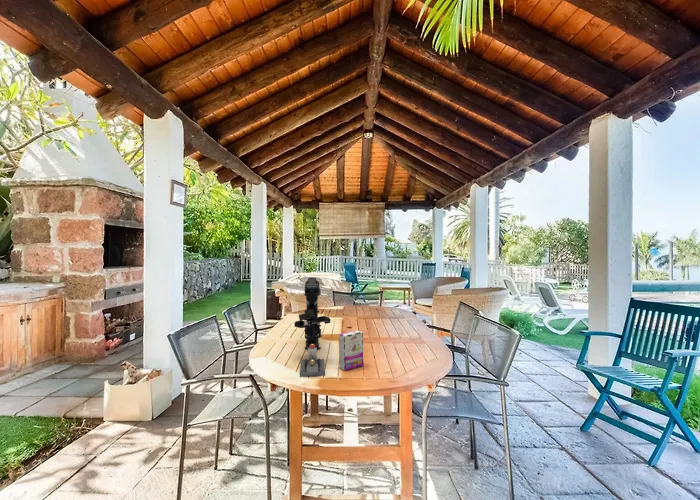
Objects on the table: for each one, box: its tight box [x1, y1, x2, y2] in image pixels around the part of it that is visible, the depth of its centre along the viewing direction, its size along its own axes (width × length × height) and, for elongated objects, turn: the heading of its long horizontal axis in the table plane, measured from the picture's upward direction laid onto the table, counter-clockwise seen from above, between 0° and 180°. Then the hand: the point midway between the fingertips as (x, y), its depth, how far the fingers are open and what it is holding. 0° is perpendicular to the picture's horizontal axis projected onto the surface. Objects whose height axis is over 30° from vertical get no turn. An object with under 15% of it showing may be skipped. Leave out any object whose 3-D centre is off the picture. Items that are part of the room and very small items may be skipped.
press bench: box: [299, 357, 326, 378], centre depth 158 cm, size 16×11×7 cm, turn 6°
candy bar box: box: [338, 330, 364, 372], centre depth 161 cm, size 11×5×16 cm, turn 126°
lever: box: [307, 344, 318, 363], centre depth 157 cm, size 3×4×9 cm, turn 96°
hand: (312, 339), depth 168 cm, fingers closed
